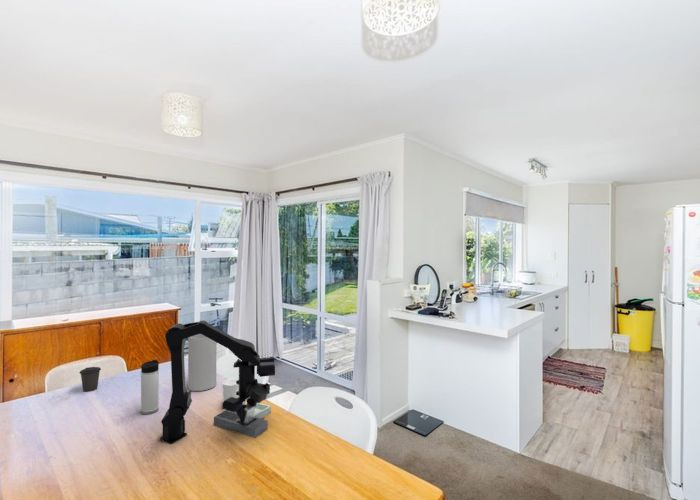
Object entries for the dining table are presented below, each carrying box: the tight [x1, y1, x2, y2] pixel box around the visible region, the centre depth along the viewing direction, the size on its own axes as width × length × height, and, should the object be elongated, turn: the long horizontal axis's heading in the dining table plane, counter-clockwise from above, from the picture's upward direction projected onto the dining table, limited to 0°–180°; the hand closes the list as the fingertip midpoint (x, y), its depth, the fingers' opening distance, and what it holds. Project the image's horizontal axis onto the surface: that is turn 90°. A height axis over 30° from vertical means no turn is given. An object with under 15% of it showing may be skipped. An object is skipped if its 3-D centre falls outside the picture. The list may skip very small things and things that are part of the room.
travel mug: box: [140, 359, 160, 415], centre depth 141 cm, size 6×7×20 cm
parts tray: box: [255, 402, 272, 419], centre depth 138 cm, size 10×10×3 cm
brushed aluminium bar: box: [239, 403, 255, 426], centre depth 128 cm, size 4×4×8 cm
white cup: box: [222, 377, 239, 402], centre depth 147 cm, size 8×8×10 cm
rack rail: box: [213, 410, 269, 439], centre depth 129 cm, size 7×20×3 cm, turn 64°
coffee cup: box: [78, 366, 102, 393], centre depth 162 cm, size 8×8×10 cm
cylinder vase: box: [187, 334, 218, 392], centre depth 166 cm, size 12×12×25 cm
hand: (246, 419), depth 128 cm, fingers closed on brushed aluminium bar, 4 cm apart
